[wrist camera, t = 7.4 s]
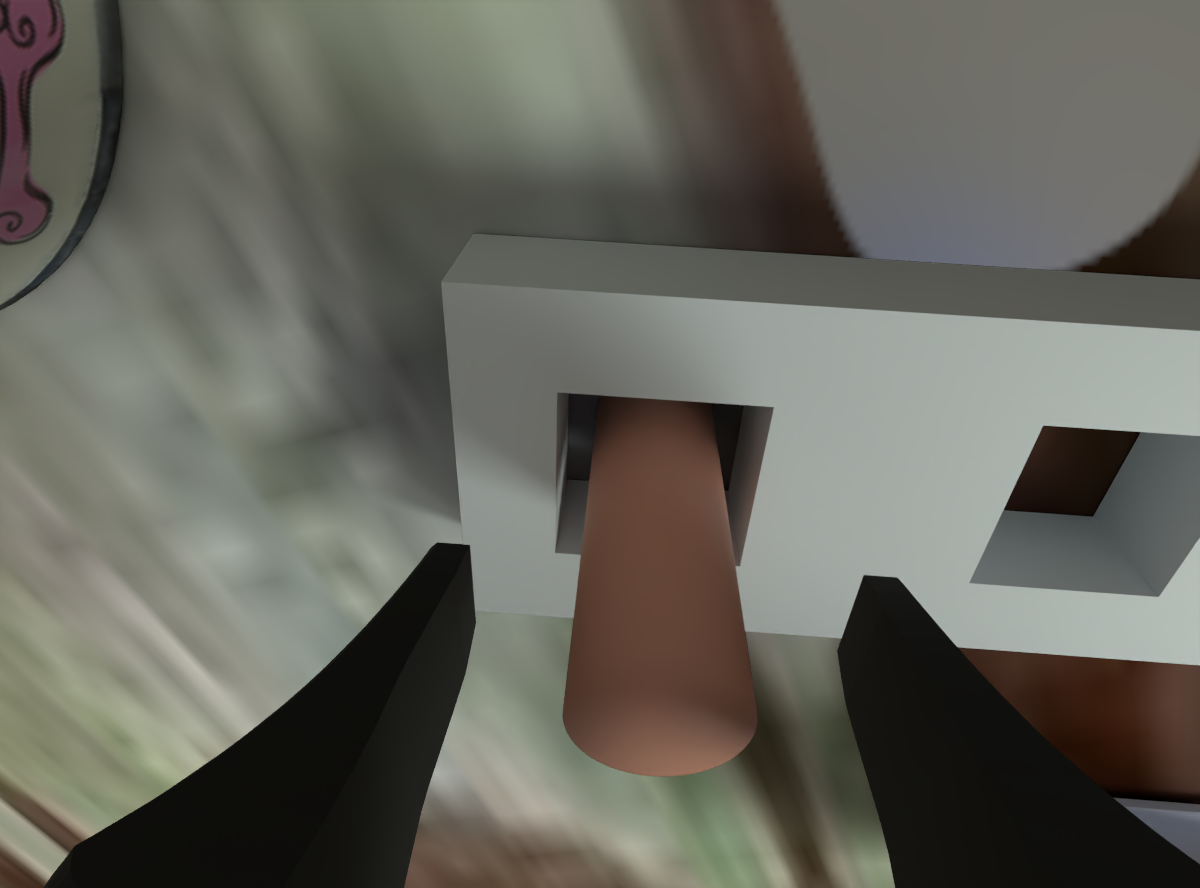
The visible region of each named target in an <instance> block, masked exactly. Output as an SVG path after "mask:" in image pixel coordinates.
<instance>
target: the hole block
mask: <svg viewBox="0 0 1200 888" xmlns="http://www.w3.org/2000/svg"><path fill="white" fill-rule="evenodd" d="M441 288H442V300H443V311H444V323H445V335H446V347H447V359H448V371H449V383H450V395H451V407H452V418H453V430H454V442H455V454H456V466H457V478H458V490H459V502H460V514H461V525H462V537H463V545H470V551H471V564H472V577H473V591H474V604H475V611H482V612H495V613H509V614H522V615H535V616H549V617H562V618H574V610H575V602H576V593H577V584H578V575H579V567H580V558H581V549H582V540H583V532H584V523H585V514H586V506H587V497H588V488H589V481H581V480H567V449H568V407H569V393H573V394H588V395H603V396H617V397H632V398H647V399H662V400H676V401H691V402H706V403H720V404H735V405H744V409H743V414H742V420H741V425H740V431H739V436H738V441H737V447H736V452H735V457H734V463H733V468H732V474H731V479H730V484H729V490H728V491H724V492H725V499H726V505H727V512H728V519H729V526H730V532H731V539H732V546H733V553H734V559H735V566H736V573H737V580H738V586H739V593H740V600H741V607H742V613H743V620H744V627H745V631H749V632H762V633H776V634H789V635H802V636H816V637H829V638H842V636H843V633H844V630H845V627H846V624H847V621H848V619H849V616H850V613H851V610H852V607H853V604H854V601H855V598H856V596H857V593H858V590H859V587H860V584H861V581H862V578H863V575H871V576H884V577H897V578H898V579H899V580H900V581H901V582H902V583H903V584H904V585H905V587H906V588H907V589H908V590H909V591H910V592H911V594H912V595H913V596H914V597H915V598H916V600H917V601H918V602H919V603H920V604H921V605H922V607H923V608H924V609H925V610H926V611H927V613H928V614H929V615H930V616H931V617H932V618H933V620H934V621H935V622H936V623H937V624H938V625H939V627H940V628H941V629H942V630H943V631H944V632H945V634H946V635H947V636H948V637H949V638H950V639H951V641H952V642H953V643H954V644H955V645H956V646H957V647H963V648H976V649H989V650H1003V651H1016V652H1029V653H1043V654H1056V655H1069V656H1083V657H1096V658H1109V659H1123V660H1136V661H1149V662H1163V663H1176V664H1190V665H1200V279H1184V278H1168V277H1153V276H1137V275H1121V274H1105V273H1089V272H1073V271H1058V270H1042V269H1026V268H1009V267H994V266H979V265H961V264H946V263H931V262H915V261H899V260H884V259H868V258H852V257H836V256H820V255H805V254H789V253H773V252H757V251H741V250H726V249H710V248H694V247H678V246H662V245H646V244H631V243H615V242H599V241H583V240H567V239H552V238H536V237H520V236H504V235H488V234H473V235H472V236H471V238H470V239H469V241H468V242H467V244H466V245H465V247H464V248H463V250H462V251H461V253H460V254H459V256H458V257H457V259H456V260H455V262H454V263H453V265H452V266H451V268H450V269H449V271H448V272H447V274H446V275H445V277H444V278H443V280H442V281H441ZM1043 425H1044V426H1059V427H1074V428H1088V429H1103V430H1118V431H1132V432H1141V433H1140V435H1139V436H1138V438H1137V440H1136V442H1135V443H1134V445H1133V447H1132V449H1131V450H1130V452H1129V454H1128V456H1127V458H1126V459H1125V461H1124V463H1123V465H1122V466H1121V468H1120V470H1119V472H1118V473H1117V475H1116V477H1115V479H1114V480H1113V482H1112V484H1111V486H1110V488H1109V489H1108V491H1107V493H1106V495H1105V496H1104V498H1103V500H1102V502H1101V503H1100V505H1099V507H1098V509H1097V511H1096V512H1095V514H1094V516H1093V517H1091V516H1077V515H1063V514H1048V513H1034V512H1020V511H1006V510H1004V508H1005V506H1006V504H1007V501H1008V499H1009V497H1010V495H1011V493H1012V491H1013V489H1014V487H1015V484H1016V482H1017V480H1018V478H1019V476H1020V474H1021V472H1022V470H1023V467H1024V465H1025V463H1026V461H1027V459H1028V457H1029V455H1030V453H1031V450H1032V448H1033V446H1034V444H1035V442H1036V440H1037V438H1038V436H1039V433H1040V431H1041V429H1042V427H1043Z"/></svg>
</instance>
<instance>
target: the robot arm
mask: <svg viewBox="0 0 1200 888" xmlns="http://www.w3.org/2000/svg"><path fill="white" fill-rule="evenodd" d="M475 624H476V617H475V604H474V591H473V577H472V564H471V551H470V545H463V544H450V543H436V544H435V545H434V546H432V547H431V549H430V550H429V551H428V553H427V554H426V555H425V556H424V558H423V559H422V560H421V562H420V563H419V564H418V565H417V567H416V568H415V569H414V570H413V572H412V573H411V574H410V575H409V577H408V578H407V579H406V580H405V582H404V583H403V584H402V585H401V586H400V588H399V589H398V590H397V591H396V592H395V594H394V595H393V596H392V597H391V598H390V599H389V600H388V602H387V603H386V604H385V605H384V606H383V607H382V608H381V609H380V611H379V612H378V613H377V614H376V615H375V616H374V617H373V618H372V620H371V621H370V622H369V623H368V624H367V625H366V626H365V627H364V628H363V629H362V631H361V632H360V633H359V634H358V635H357V636H356V637H355V638H354V639H353V640H352V641H351V642H350V643H349V644H348V645H347V646H346V647H345V648H344V649H343V650H342V651H341V652H340V653H339V654H338V655H337V656H336V657H335V658H334V659H333V660H332V661H331V662H330V663H329V664H328V665H327V666H326V667H325V668H324V669H323V670H322V671H321V672H320V673H318V674H317V675H316V676H315V677H314V678H313V679H312V680H311V681H310V682H309V683H308V684H307V685H305V686H304V687H303V688H302V689H301V690H300V691H299V692H297V693H296V694H295V695H294V696H293V697H292V698H291V699H289V700H288V701H287V702H286V703H285V704H284V705H282V706H281V707H280V708H279V709H278V710H276V711H275V712H274V713H273V714H271V715H270V716H269V717H268V718H266V719H265V720H264V721H263V722H261V723H260V724H259V725H258V726H256V727H255V728H254V729H253V730H251V731H250V732H249V733H248V734H246V735H245V736H244V737H242V738H241V739H240V740H238V741H237V742H236V743H235V744H233V745H232V746H230V747H229V748H228V749H226V750H225V751H224V752H222V753H221V754H219V755H218V756H217V757H215V758H214V759H212V760H211V761H209V762H208V763H206V764H205V765H204V766H202V767H201V768H199V769H198V770H196V771H195V772H193V773H192V774H191V775H189V776H188V777H186V778H185V779H183V780H182V781H180V782H179V783H177V784H176V785H175V786H173V787H172V788H170V789H169V790H167V791H166V792H164V793H163V794H161V795H159V796H158V797H156V798H155V799H153V800H152V801H150V802H148V803H147V804H145V805H143V806H142V807H140V808H138V809H137V810H135V811H133V812H132V813H130V814H128V815H127V816H125V817H123V818H122V819H120V820H118V821H117V822H115V823H113V824H112V825H110V826H108V827H107V828H105V829H103V830H102V831H100V832H98V833H97V834H95V835H93V836H92V837H90V838H88V839H86V840H84V841H83V842H81V843H79V844H77V845H76V846H74V848H73V849H72V850H71V852H70V853H69V854H68V856H67V857H66V858H65V860H64V861H63V862H62V863H61V865H60V866H59V867H58V868H57V870H56V871H55V872H54V873H53V875H52V876H51V878H50V879H49V880H48V882H47V883H46V885H45V886H44V888H404V885H405V881H406V876H407V872H408V867H409V863H410V858H411V854H412V850H413V845H414V841H415V836H416V832H417V828H418V823H419V819H420V815H421V811H422V807H423V804H424V800H425V797H426V793H427V790H428V787H429V783H430V780H431V777H432V774H433V771H434V768H435V765H436V762H437V759H438V756H439V753H440V750H441V747H442V744H443V741H444V738H445V735H446V732H447V729H448V726H449V723H450V720H451V717H452V714H453V711H454V708H455V704H456V701H457V698H458V695H459V692H460V689H461V686H462V683H463V680H464V676H465V673H466V668H467V664H468V659H469V654H470V649H471V644H472V639H473V634H474V629H475ZM837 652H838V659H839V665H840V672H841V679H842V685H843V691H844V696H845V702H846V706H847V710H848V714H849V717H850V721H851V724H852V728H853V731H854V735H855V738H856V741H857V745H858V748H859V752H860V755H861V758H862V762H863V765H864V768H865V772H866V775H867V778H868V782H869V785H870V789H871V792H872V795H873V799H874V802H875V805H876V809H877V812H878V815H879V819H880V822H881V826H882V829H883V833H884V837H885V841H886V845H887V849H888V853H889V858H890V863H891V868H892V873H893V878H894V884H895V888H1200V804H1189V803H1177V802H1164V801H1151V800H1139V799H1126V798H1113V797H1111V796H1110V795H1109V794H1108V793H1107V792H1105V791H1104V790H1103V789H1102V788H1101V787H1099V786H1098V785H1097V784H1096V783H1095V782H1093V781H1092V780H1091V779H1090V778H1089V777H1088V776H1086V775H1085V774H1084V773H1083V772H1082V771H1081V770H1080V769H1079V768H1077V767H1076V766H1075V765H1074V764H1073V763H1072V762H1071V761H1070V760H1068V759H1067V758H1066V757H1065V756H1064V755H1063V754H1062V753H1061V752H1060V751H1058V750H1057V749H1056V748H1055V747H1054V746H1053V745H1052V744H1051V743H1050V742H1048V741H1047V740H1046V739H1045V738H1044V737H1043V736H1042V735H1041V734H1040V733H1039V732H1038V731H1037V730H1036V729H1035V728H1034V727H1033V726H1032V725H1031V724H1030V723H1029V722H1028V721H1027V720H1026V719H1025V718H1024V717H1023V716H1022V715H1021V714H1020V713H1019V712H1018V711H1017V710H1016V709H1015V708H1014V707H1013V706H1012V705H1011V704H1010V703H1009V702H1008V701H1007V700H1006V699H1005V698H1004V697H1003V696H1002V695H1001V694H1000V693H999V692H998V691H997V690H996V689H995V688H994V687H993V686H992V685H991V684H990V683H989V682H988V681H987V679H986V678H985V677H984V676H983V675H982V674H981V673H980V672H979V671H978V670H977V669H976V668H975V666H974V665H973V664H972V663H971V662H970V661H969V660H968V659H967V658H966V656H965V655H964V654H963V653H962V652H961V651H960V650H959V649H958V647H957V646H956V645H955V644H954V643H953V642H952V641H951V639H950V638H949V637H948V636H947V635H946V634H945V632H944V631H943V630H942V629H941V628H940V627H939V625H938V624H937V623H936V622H935V621H934V620H933V618H932V617H931V616H930V615H929V614H928V613H927V611H926V610H925V609H924V608H923V607H922V605H921V604H920V603H919V602H918V601H917V600H916V598H915V597H914V596H913V595H912V594H911V592H910V591H909V590H908V589H907V588H906V587H905V585H904V584H903V583H902V582H901V581H900V580H899V579H898V578H897V577H884V576H871V575H863V578H862V581H861V584H860V587H859V590H858V593H857V596H856V598H855V601H854V604H853V607H852V610H851V613H850V616H849V619H848V621H847V624H846V627H845V630H844V633H843V636H842V639H841V642H840V644H839V647H838V650H837Z"/></svg>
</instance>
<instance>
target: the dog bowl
mask: <svg viewBox="0 0 1200 888" xmlns="http://www.w3.org/2000/svg"><path fill="white" fill-rule="evenodd" d="M122 93H123V74H122V43H121V31H120V20H119V12H118V4H117V0H0V310H2V309H4V308H6V307H7V306H9V305H11V304H13V303H15V302H16V301H18V300H19V299H21V298H22V297H24V296H25V295H27V294H28V293H30V292H31V291H33V290H34V289H36V288H37V287H38V286H39V285H40V284H41V283H42V282H43V281H44V280H45V279H47V278H48V277H49V276H50V275H52V274H53V273H54V272H55V271H56V270H57V269H58V268H59V267H60V265H61V264H62V263H63V262H64V261H65V260H66V259H67V258H68V257H69V255H70V254H71V253H72V251H73V250H74V248H75V247H76V245H77V244H78V243H79V242H80V240H81V238H82V237H83V235H84V234H85V232H86V230H87V229H88V227H89V226H90V224H91V222H92V220H93V218H94V216H95V214H96V212H97V209H98V207H99V205H100V203H101V200H102V198H103V195H104V192H105V190H106V187H107V183H108V180H109V177H110V174H111V170H112V166H113V163H114V157H115V152H116V146H117V140H118V135H119V129H120V118H121V110H122Z"/></svg>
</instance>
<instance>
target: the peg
mask: <svg viewBox="0 0 1200 888" xmlns="http://www.w3.org/2000/svg"><path fill="white" fill-rule="evenodd" d="M757 721H758V717H757V708H756V701H755V694H754V687H753V681H752V674H751V667H750V660H749V654H748V647H747V640H746V634H745V627H744V620H743V613H742V607H741V600H740V593H739V586H738V580H737V573H736V566H735V559H734V553H733V546H732V539H731V532H730V526H729V519H728V512H727V505H726V499H725V492H724V485H723V479H722V472H721V465H720V458H719V452H718V445H717V438H716V431H715V425H714V418H713V411H712V405H711V403H706V402H691V401H676V400H662V399H647V398H632V397H617V396H603V395H602V396H601V399H600V401H599V405H598V409H597V418H596V427H595V436H594V444H593V453H592V462H591V471H590V479H589V488H588V497H587V506H586V514H585V523H584V532H583V540H582V549H581V558H580V567H579V575H578V584H577V593H576V602H575V610H574V619H573V628H572V637H571V645H570V654H569V663H568V672H567V680H566V689H565V698H564V707H563V722H564V726H565V729H566V731H567V733H568V735H569V737H570V738H571V739H572V741H573V742H574V743H575V745H577V746H578V747H579V748H580V749H581V750H582V751H583V752H584V753H586V754H587V755H588V756H590V757H591V758H593V759H595V760H596V761H598V762H600V763H602V764H605V765H607V766H609V767H612V768H615V769H618V770H621V771H625V772H629V773H633V774H639V775H647V776H680V775H688V774H693V773H698V772H702V771H705V770H709V769H711V768H714V767H716V766H719V765H721V764H723V763H725V762H727V761H729V760H730V759H732V758H733V757H735V756H736V755H738V754H739V753H740V752H741V751H742V750H743V749H744V748H745V747H746V746H747V745H748V744H749V742H750V741H751V739H752V738H753V736H754V734H755V731H756V728H757Z"/></svg>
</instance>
